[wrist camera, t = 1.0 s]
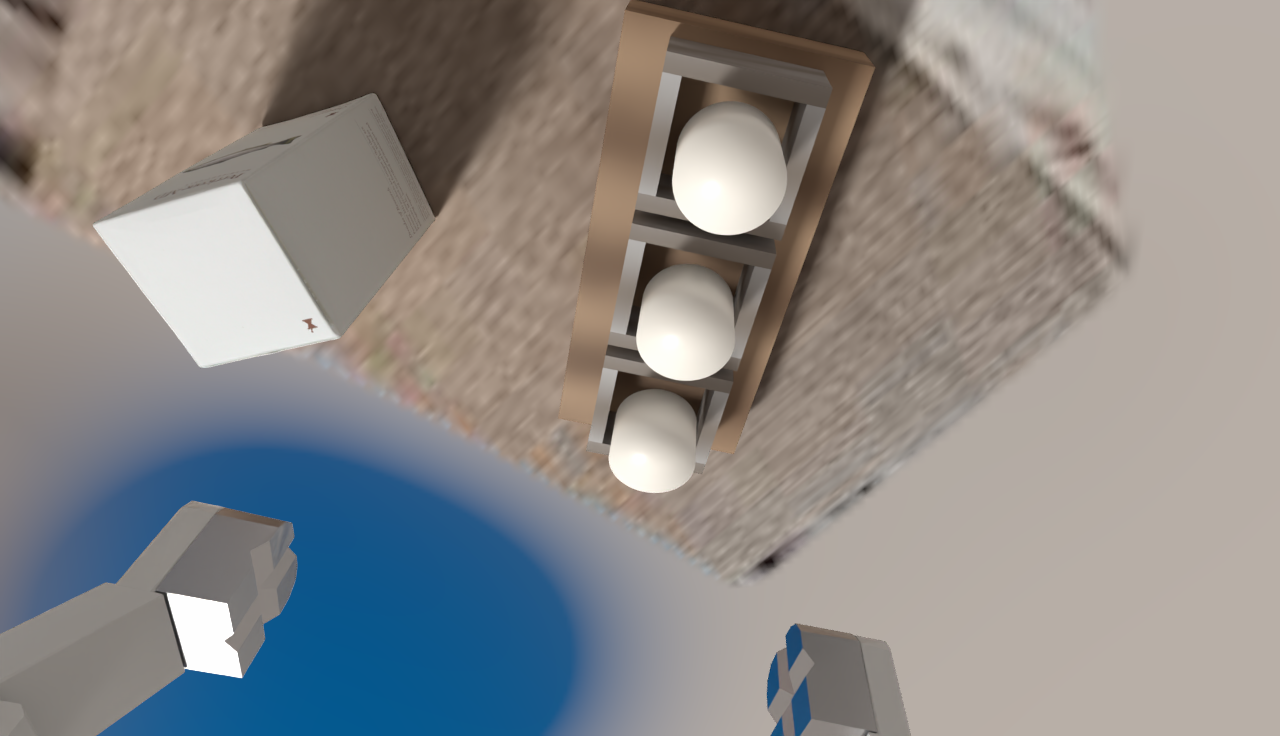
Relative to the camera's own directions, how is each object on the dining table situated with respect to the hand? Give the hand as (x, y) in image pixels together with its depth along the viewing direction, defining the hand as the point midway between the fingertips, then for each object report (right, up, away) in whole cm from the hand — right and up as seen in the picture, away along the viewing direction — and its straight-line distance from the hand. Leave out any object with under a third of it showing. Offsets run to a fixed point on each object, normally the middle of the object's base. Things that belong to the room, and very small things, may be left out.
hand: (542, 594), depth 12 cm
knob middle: (+4, +7, +23) cm, 25 cm away
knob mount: (+4, +10, +28) cm, 30 cm away
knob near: (+5, +13, +19) cm, 23 cm away
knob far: (+2, +1, +28) cm, 28 cm away
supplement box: (-14, +14, +28) cm, 34 cm away
